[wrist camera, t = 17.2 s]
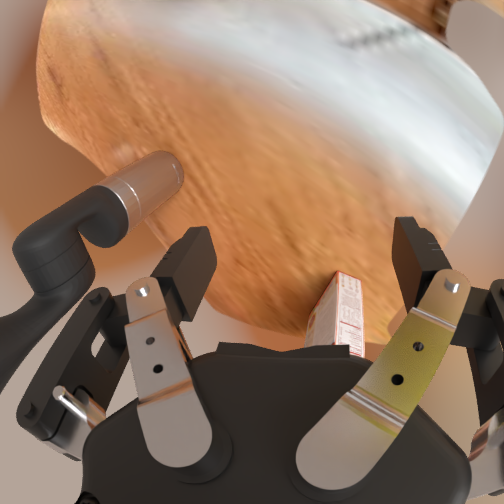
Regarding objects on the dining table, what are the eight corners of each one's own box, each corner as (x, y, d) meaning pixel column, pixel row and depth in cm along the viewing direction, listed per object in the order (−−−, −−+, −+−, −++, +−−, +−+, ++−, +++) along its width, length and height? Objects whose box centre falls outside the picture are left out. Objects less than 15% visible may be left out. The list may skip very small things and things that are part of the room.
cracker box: (332, 323, 61) (322, 405, 45) (308, 314, 62) (292, 396, 45) (364, 280, 53) (366, 369, 36) (337, 268, 53) (330, 358, 36)
